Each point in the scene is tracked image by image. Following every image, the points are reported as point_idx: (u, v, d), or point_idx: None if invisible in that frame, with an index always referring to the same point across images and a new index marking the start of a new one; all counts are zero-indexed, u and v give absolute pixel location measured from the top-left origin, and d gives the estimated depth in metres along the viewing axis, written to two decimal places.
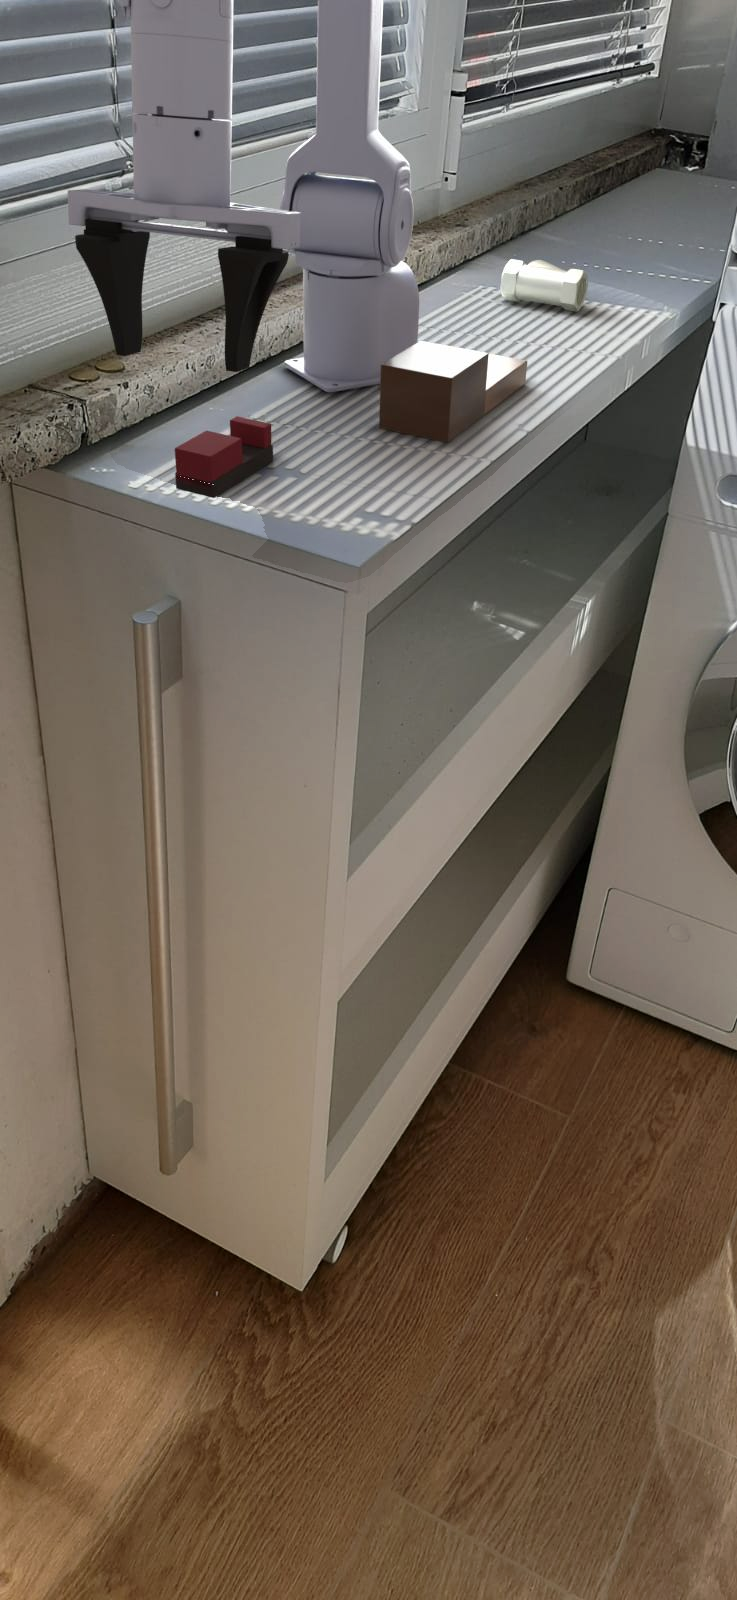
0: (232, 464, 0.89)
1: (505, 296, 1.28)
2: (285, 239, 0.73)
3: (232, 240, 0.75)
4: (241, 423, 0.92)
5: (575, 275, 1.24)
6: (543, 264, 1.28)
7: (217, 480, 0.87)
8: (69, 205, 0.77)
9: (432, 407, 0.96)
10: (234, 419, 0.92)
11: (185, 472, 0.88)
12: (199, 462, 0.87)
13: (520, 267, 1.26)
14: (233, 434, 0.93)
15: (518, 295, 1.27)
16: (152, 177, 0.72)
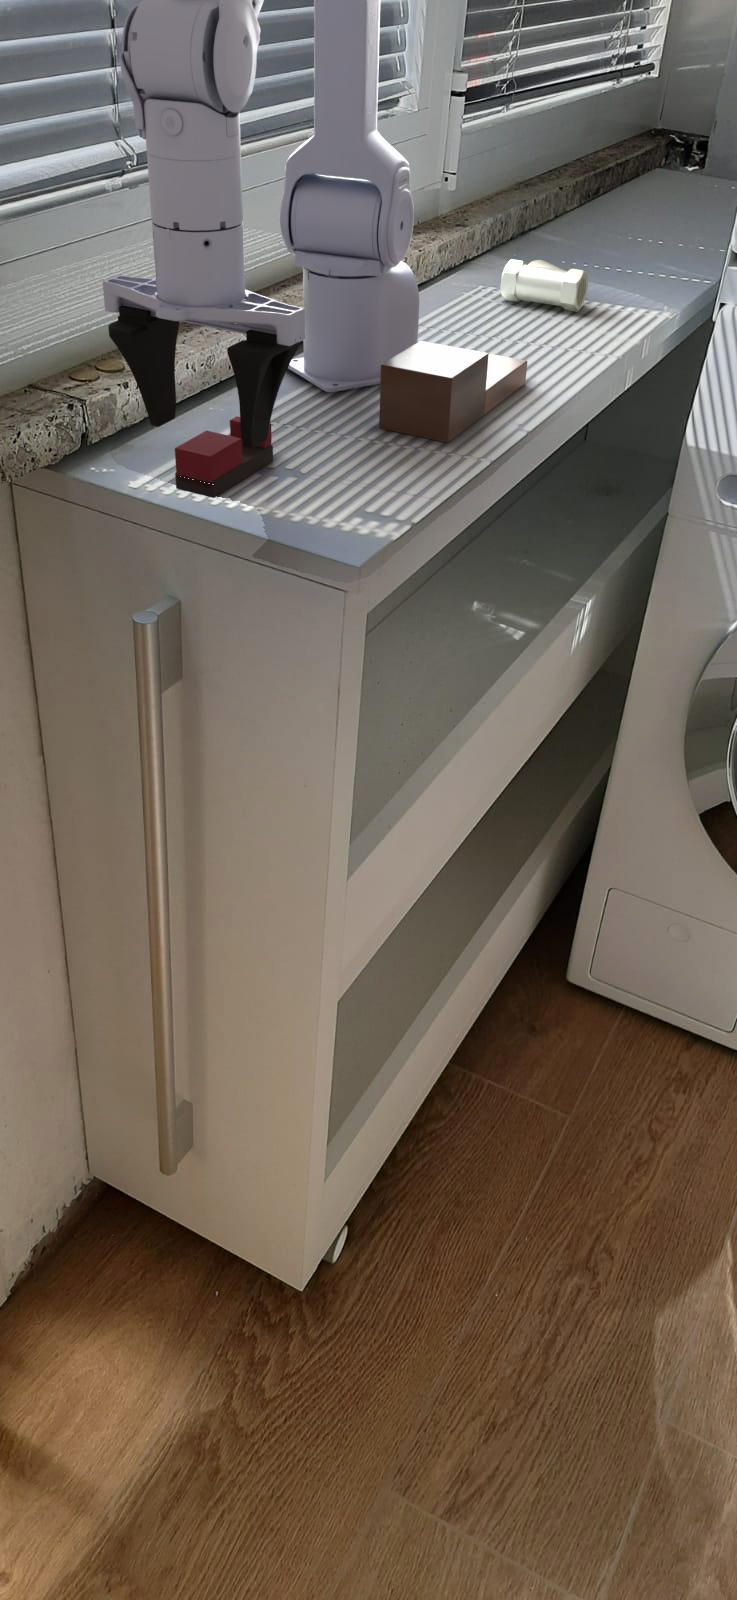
0: (232, 464, 0.89)
1: (505, 296, 1.28)
2: (288, 337, 0.79)
3: (244, 332, 0.81)
4: None
5: (575, 275, 1.24)
6: (543, 264, 1.28)
7: (217, 480, 0.87)
8: (104, 294, 0.84)
9: (432, 407, 0.96)
10: (234, 419, 0.92)
11: (185, 472, 0.88)
12: (199, 462, 0.87)
13: (520, 267, 1.26)
14: (233, 434, 0.93)
15: (518, 295, 1.27)
16: (168, 282, 0.79)
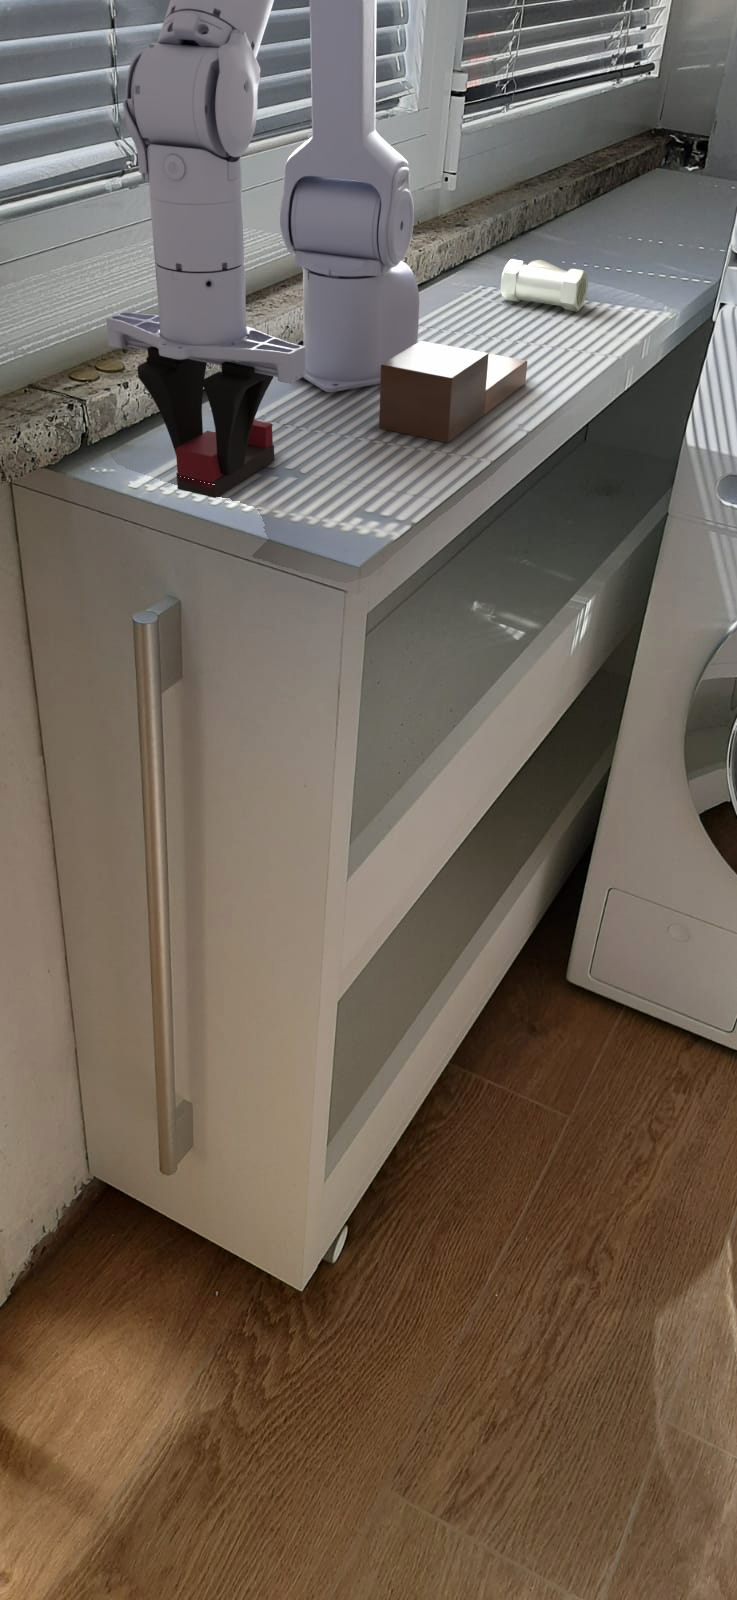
0: None
1: (505, 296, 1.28)
2: (289, 375, 0.81)
3: None
4: None
5: (575, 275, 1.24)
6: (543, 264, 1.28)
7: (218, 480, 0.87)
8: (108, 331, 0.86)
9: (432, 407, 0.96)
10: None
11: (186, 472, 0.88)
12: (201, 462, 0.87)
13: (520, 267, 1.26)
14: None
15: (518, 295, 1.27)
16: (171, 321, 0.81)
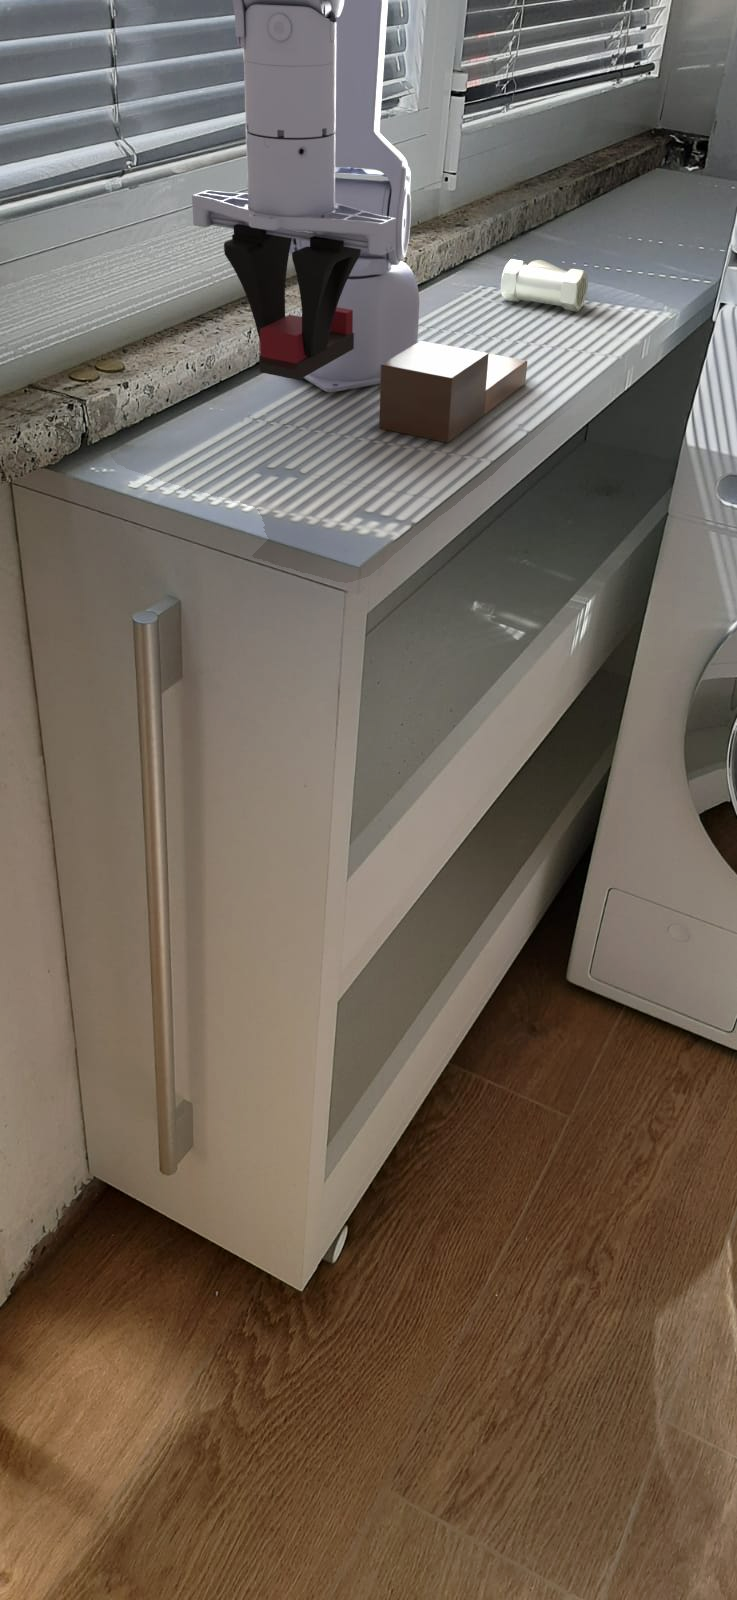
0: None
1: (505, 296, 1.28)
2: (380, 246, 0.80)
3: None
4: None
5: (575, 275, 1.24)
6: (543, 264, 1.28)
7: (302, 361, 0.87)
8: (193, 208, 0.85)
9: (432, 407, 0.96)
10: None
11: (270, 354, 0.87)
12: (285, 342, 0.86)
13: (520, 267, 1.26)
14: None
15: (518, 295, 1.27)
16: (262, 191, 0.80)
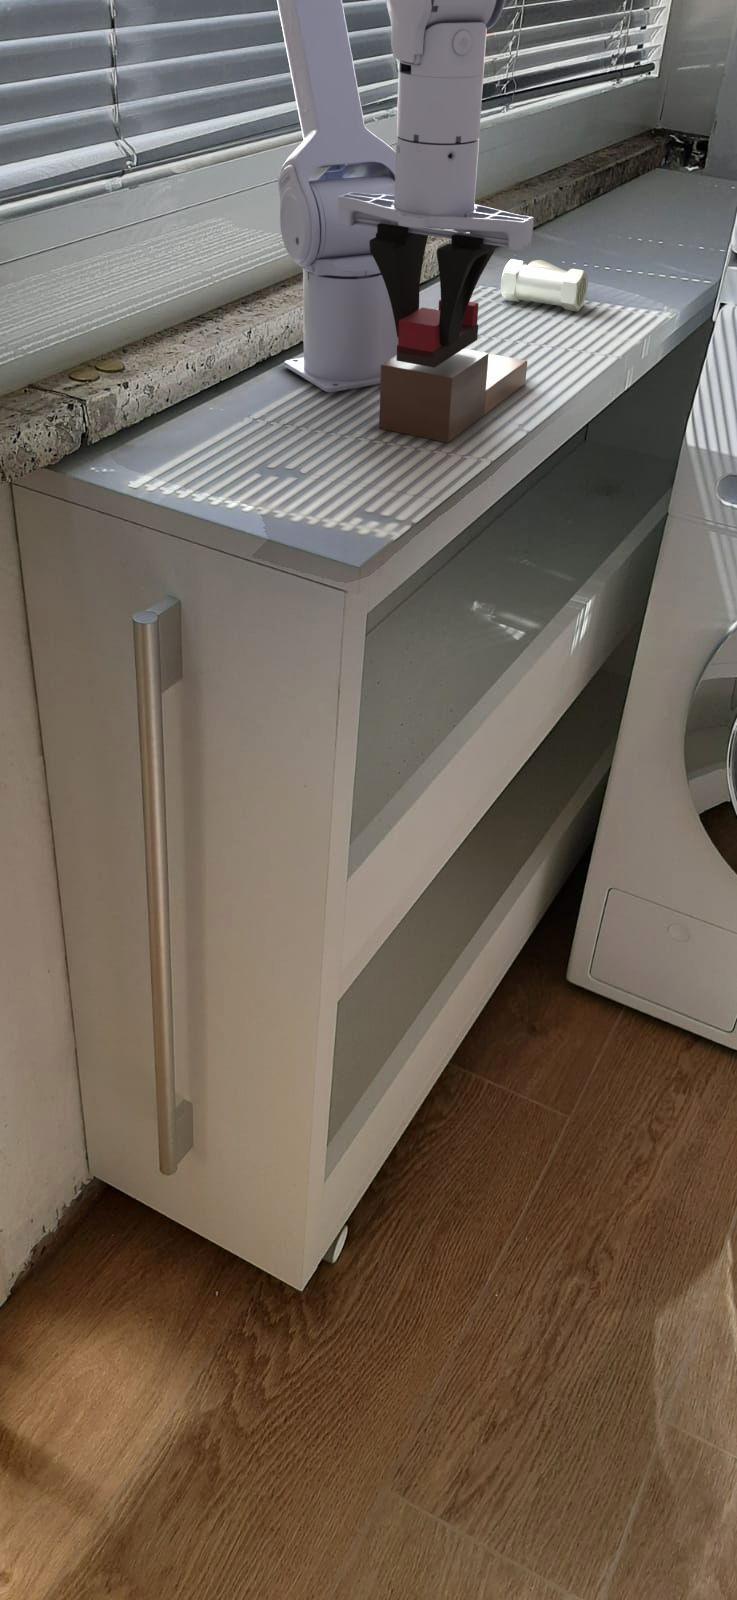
0: None
1: (505, 296, 1.28)
2: (520, 243, 0.87)
3: None
4: None
5: (575, 275, 1.24)
6: (543, 264, 1.28)
7: (438, 350, 0.93)
8: (339, 209, 0.92)
9: (432, 407, 0.96)
10: None
11: (407, 343, 0.94)
12: (423, 332, 0.93)
13: (520, 267, 1.26)
14: None
15: (518, 295, 1.27)
16: (411, 192, 0.87)
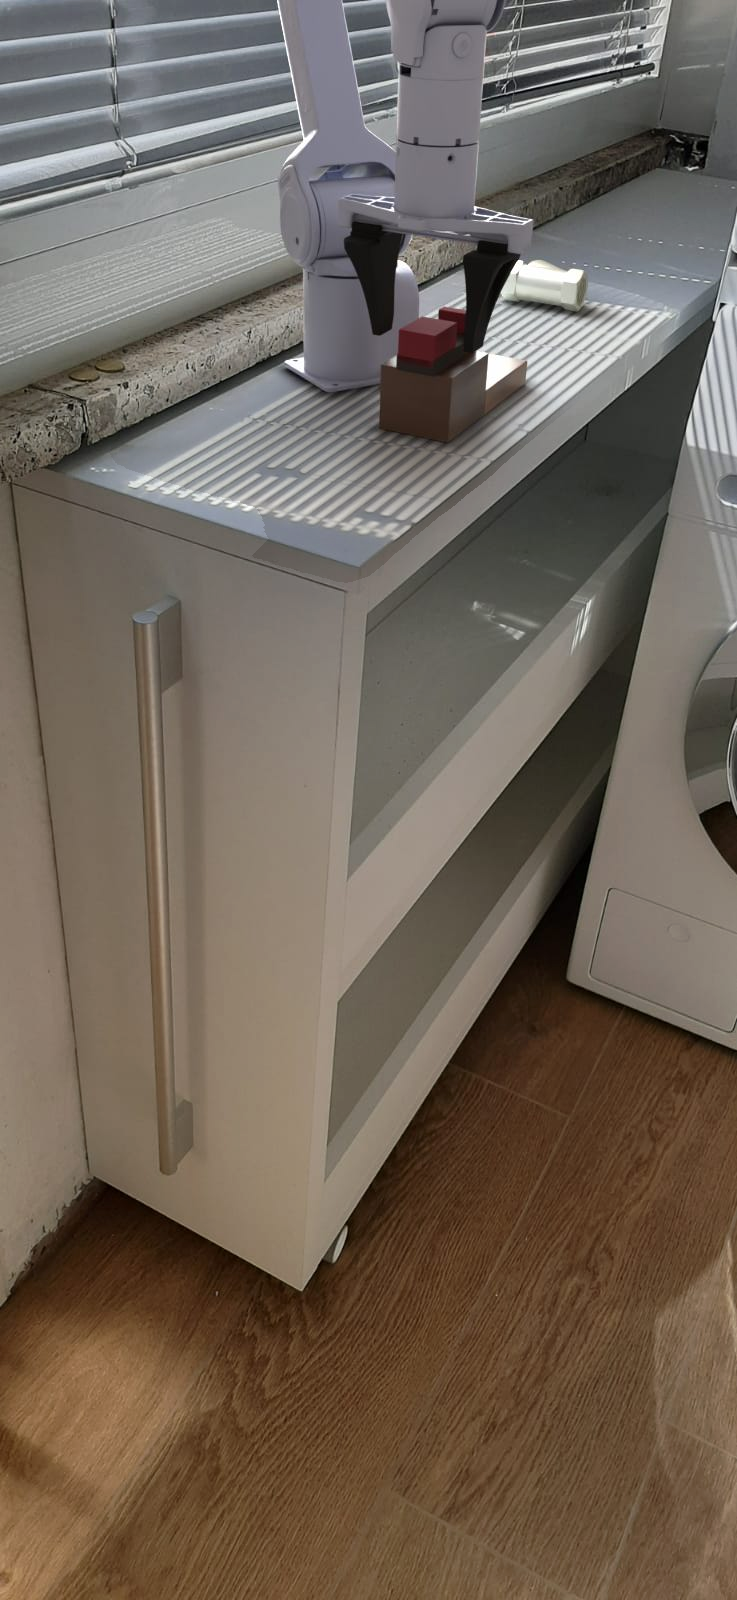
0: (448, 346, 0.95)
1: (505, 296, 1.28)
2: (519, 245, 0.87)
3: (474, 243, 0.89)
4: (450, 312, 0.98)
5: (575, 275, 1.24)
6: (543, 264, 1.28)
7: (437, 360, 0.94)
8: (339, 211, 0.92)
9: (432, 407, 0.96)
10: (442, 308, 0.99)
11: (407, 352, 0.94)
12: (423, 342, 0.93)
13: (520, 267, 1.26)
14: None
15: (518, 295, 1.27)
16: (411, 195, 0.87)
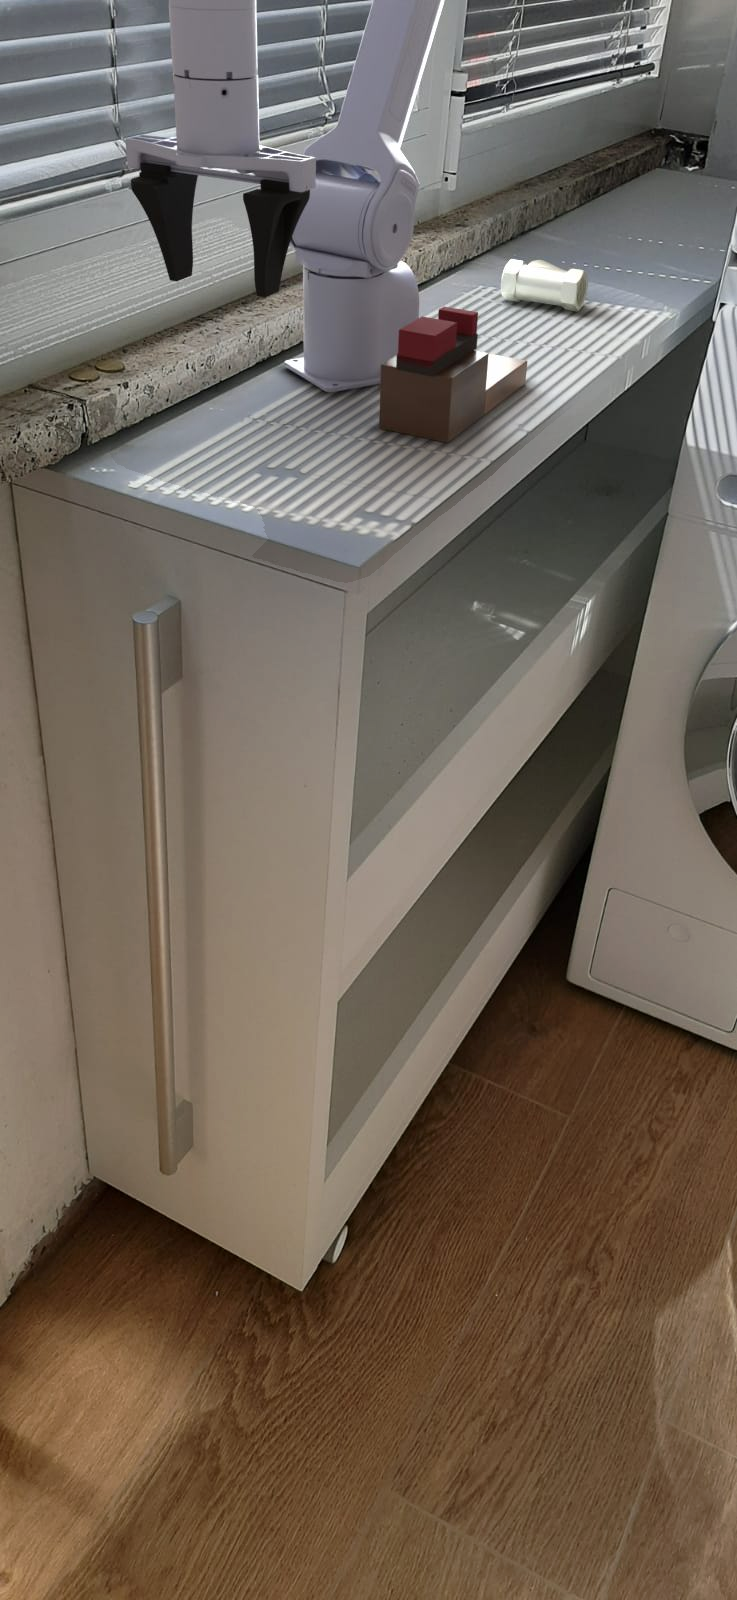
0: (448, 346, 0.95)
1: (505, 296, 1.28)
2: (300, 183, 0.85)
3: (259, 182, 0.87)
4: (450, 312, 0.98)
5: (575, 275, 1.24)
6: (543, 264, 1.28)
7: (437, 360, 0.94)
8: (127, 151, 0.90)
9: (432, 407, 0.96)
10: (442, 308, 0.99)
11: (407, 352, 0.94)
12: (423, 342, 0.93)
13: (520, 267, 1.26)
14: None
15: (518, 295, 1.27)
16: (188, 131, 0.85)
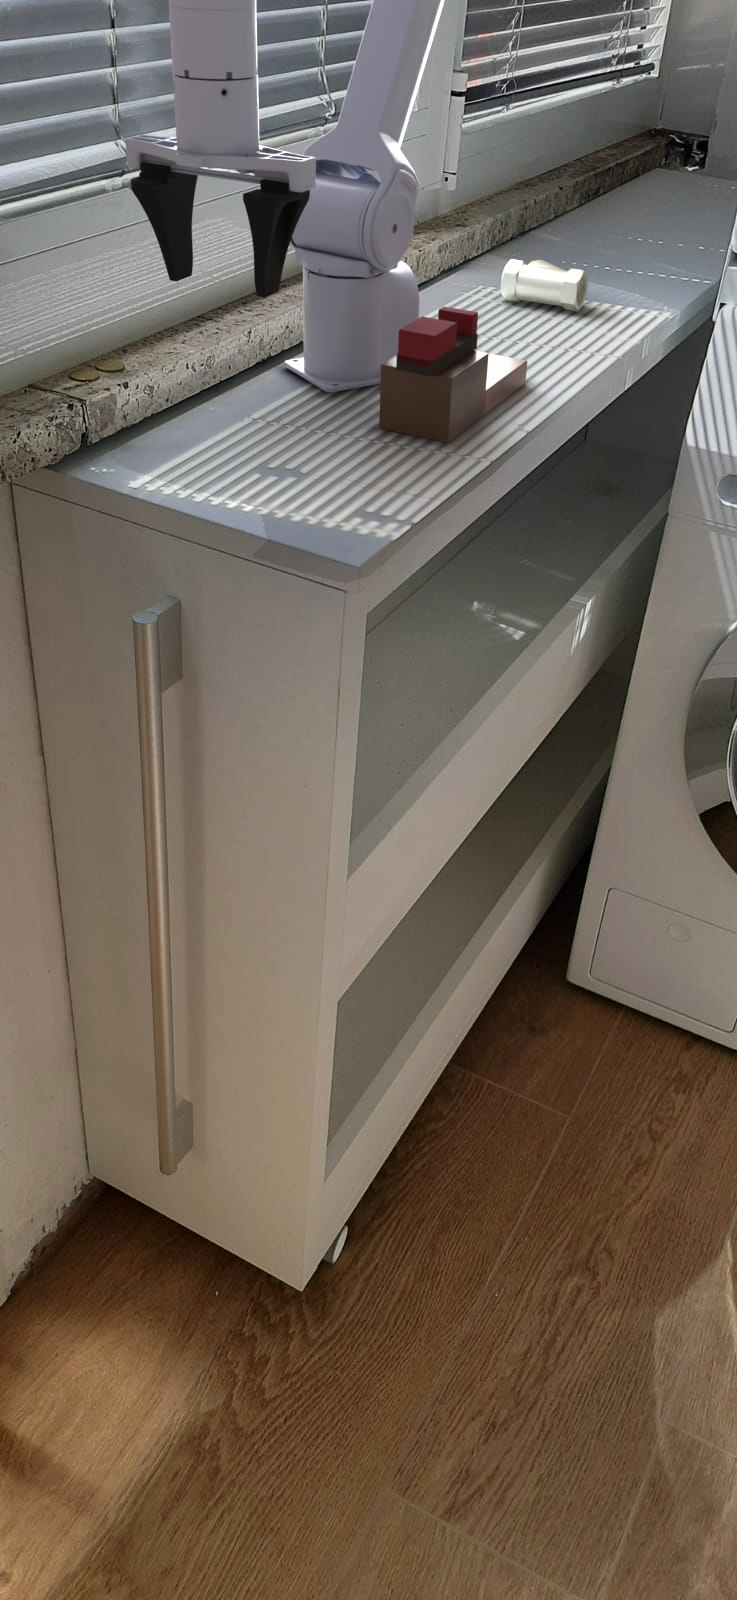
0: (448, 346, 0.95)
1: (505, 296, 1.28)
2: (300, 183, 0.85)
3: (258, 182, 0.87)
4: (450, 312, 0.98)
5: (575, 275, 1.24)
6: (543, 264, 1.28)
7: (437, 360, 0.94)
8: (127, 151, 0.90)
9: (432, 407, 0.96)
10: (442, 308, 0.99)
11: (407, 352, 0.94)
12: (423, 342, 0.93)
13: (520, 267, 1.26)
14: None
15: (518, 295, 1.27)
16: (188, 131, 0.85)
